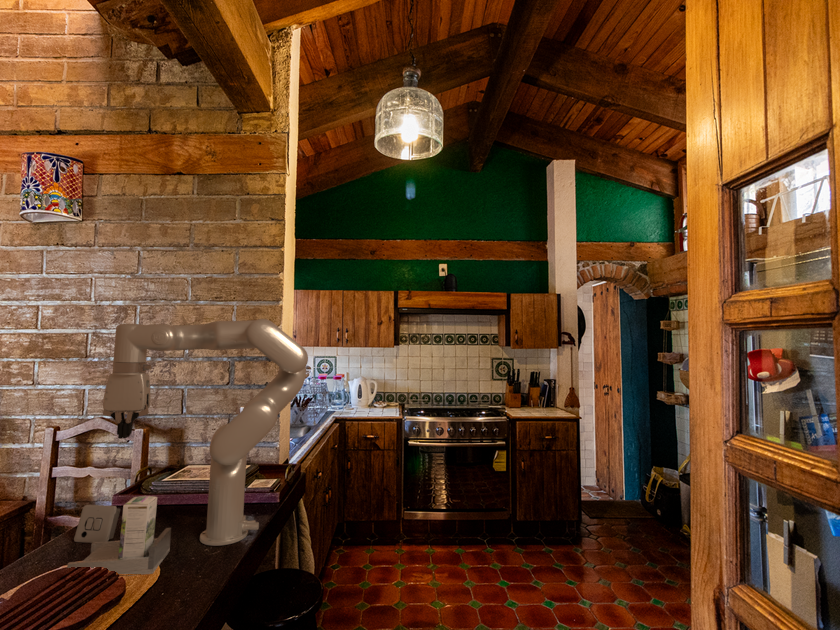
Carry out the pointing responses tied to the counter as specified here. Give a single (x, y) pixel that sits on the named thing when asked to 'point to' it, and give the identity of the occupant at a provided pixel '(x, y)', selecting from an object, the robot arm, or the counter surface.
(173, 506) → the counter surface
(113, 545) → the grey u-shaped piece
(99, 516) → the electrical switch
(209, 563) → the counter surface
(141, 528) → the syrup box
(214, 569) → the counter surface
